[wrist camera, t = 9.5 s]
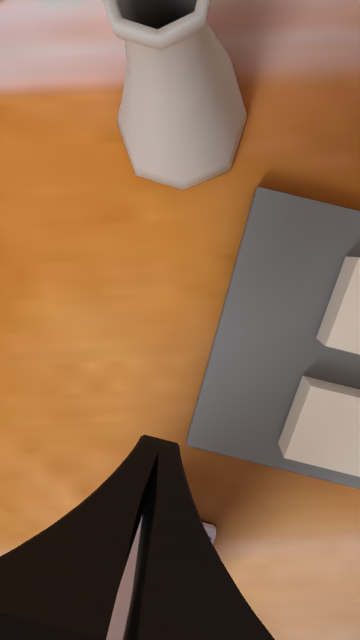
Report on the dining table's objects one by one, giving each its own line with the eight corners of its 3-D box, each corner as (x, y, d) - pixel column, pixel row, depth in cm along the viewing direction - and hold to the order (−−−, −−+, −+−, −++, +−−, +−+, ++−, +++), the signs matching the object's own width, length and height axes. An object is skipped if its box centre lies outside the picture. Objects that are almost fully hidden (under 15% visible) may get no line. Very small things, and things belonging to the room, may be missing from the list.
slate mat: (406, 493, 22) (413, 502, 21) (186, 438, 22) (185, 445, 21) (527, 254, 18) (542, 254, 17) (255, 189, 18) (257, 186, 17)
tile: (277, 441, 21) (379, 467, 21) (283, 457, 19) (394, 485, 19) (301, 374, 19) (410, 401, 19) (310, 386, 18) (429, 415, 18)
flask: (248, 41, 16) (316, -264, 7) (245, 188, 18) (296, 120, 8) (113, 51, 17) (-9, -217, 7) (122, 193, 18) (34, 135, 9)
